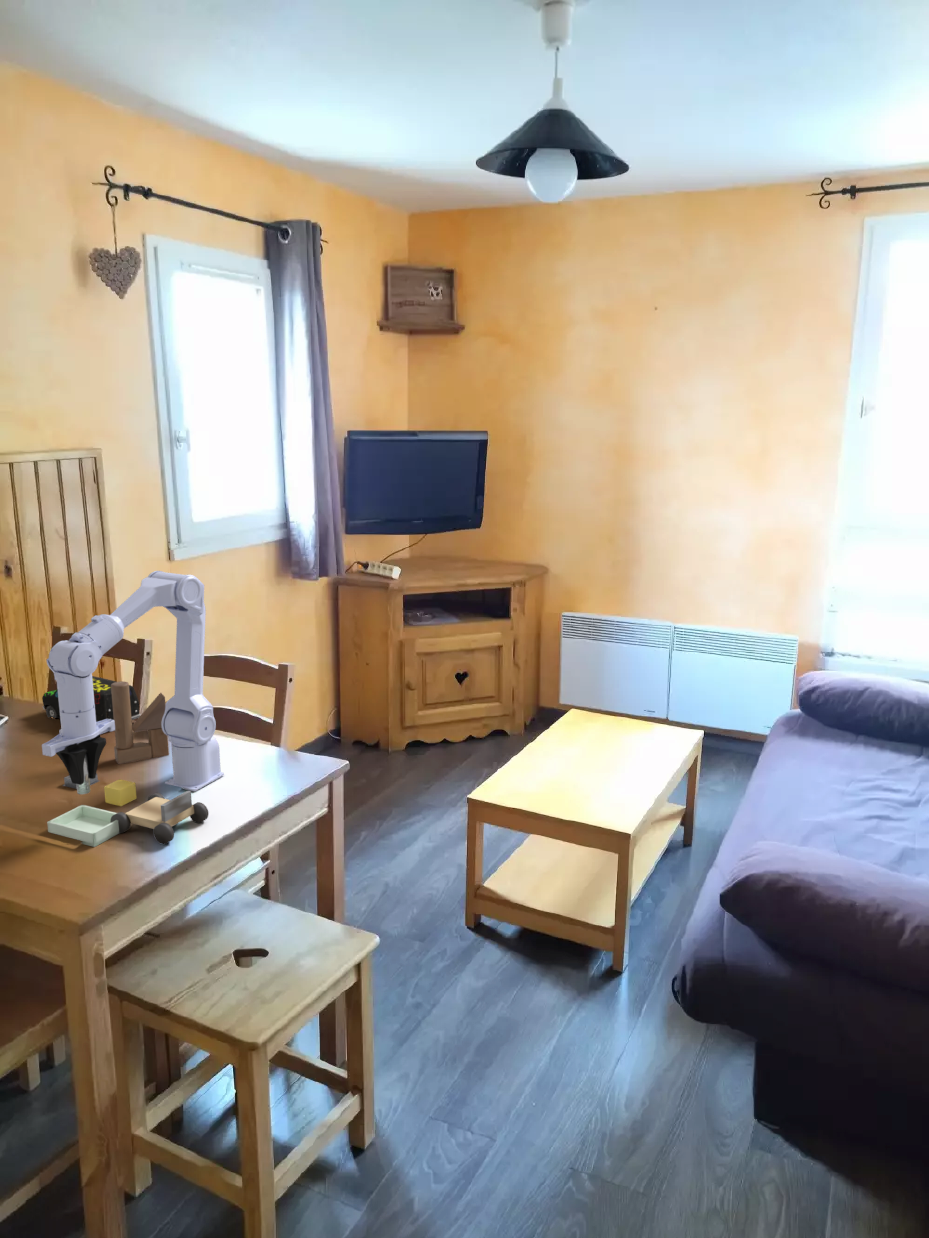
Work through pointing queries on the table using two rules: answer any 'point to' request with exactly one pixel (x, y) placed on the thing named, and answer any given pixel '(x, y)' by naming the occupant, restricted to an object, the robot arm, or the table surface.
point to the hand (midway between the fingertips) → (83, 780)
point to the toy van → (100, 699)
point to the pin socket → (69, 784)
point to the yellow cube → (120, 792)
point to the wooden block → (137, 727)
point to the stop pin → (85, 779)
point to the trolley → (162, 815)
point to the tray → (85, 825)
